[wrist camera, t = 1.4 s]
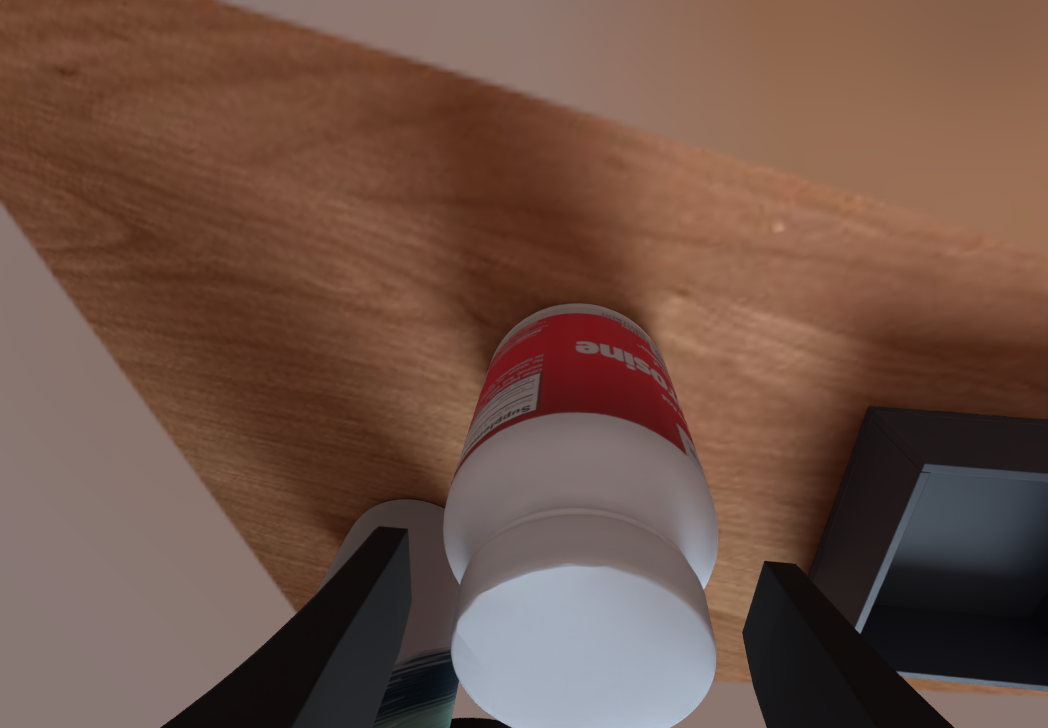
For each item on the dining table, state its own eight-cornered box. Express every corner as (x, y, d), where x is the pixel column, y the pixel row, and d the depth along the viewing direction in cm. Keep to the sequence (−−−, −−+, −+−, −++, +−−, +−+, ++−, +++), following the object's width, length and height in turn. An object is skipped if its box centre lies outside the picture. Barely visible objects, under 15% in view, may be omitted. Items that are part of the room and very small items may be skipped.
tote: (1027, 616, 23) (1098, 697, 20) (800, 595, 23) (836, 670, 20) (1142, 426, 19) (1253, 490, 16) (868, 405, 19) (924, 463, 16)
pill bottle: (700, 392, 20) (835, 696, 10) (564, 481, 22) (559, 807, 12) (588, 258, 18) (612, 459, 8) (453, 369, 20) (335, 638, 10)
